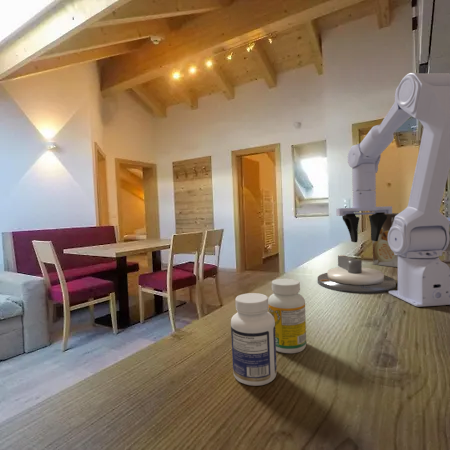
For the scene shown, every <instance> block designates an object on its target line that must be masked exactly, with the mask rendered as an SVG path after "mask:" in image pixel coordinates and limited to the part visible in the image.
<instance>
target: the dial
mask: <svg viewBox="0 0 450 450" xmlns="http://www.w3.org/2000/svg"><path fill="white" fill-rule="evenodd" d="M362 265H363V263H362V259H356V258H352V257H350V256H347V255H345V254H338V255H337V266H338V267H333V268H329V269H328V270H327V273H328V279H329V280H331V281H334V282H338V283H343V284H351V285H372V284H378V283H381V282H383V281H384V275H385V274H384V272H383V271H381V270H379V269H375V268H369V267H363V266H362Z"/></svg>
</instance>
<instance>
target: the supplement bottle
mask: <svg viewBox="0 0 450 450" xmlns="http://www.w3.org/2000/svg"><path fill="white" fill-rule="evenodd" d="M271 290H272V292H273V293H272V294H271V295H269V296H268V305H269V307H268V310H267V312H269V313H270V314H271V315H272V316H273V317H274V320H275V338H276V352H278V353H282V354H297V353H300V352H302V351H304V349H305V348H307V347H306V346H307V327H306V325H307V323H306V321H307V320H306V317H307V316H306V301H305V300H306V299H305V298H304V297H303V295H301V294H300V291H301V284H300V281H299V280H297V279H292V278H276V279H273V280H272V281H271Z"/></svg>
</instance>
